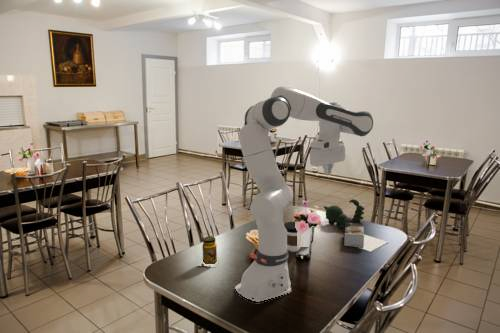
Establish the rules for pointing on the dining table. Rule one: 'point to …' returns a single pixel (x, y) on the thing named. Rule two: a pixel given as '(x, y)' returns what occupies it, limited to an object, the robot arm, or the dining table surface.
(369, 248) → the mat
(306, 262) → the dining table surface
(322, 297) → the dining table surface
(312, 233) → the food container
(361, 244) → the coffee box
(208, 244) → the condiment
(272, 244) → the robot arm
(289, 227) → the coffee cup
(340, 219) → the toy figurine
